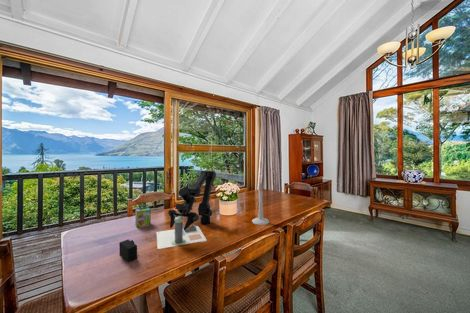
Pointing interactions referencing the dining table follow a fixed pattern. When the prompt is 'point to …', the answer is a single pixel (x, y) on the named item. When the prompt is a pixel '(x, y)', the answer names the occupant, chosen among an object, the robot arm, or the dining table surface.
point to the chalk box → (143, 216)
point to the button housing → (190, 228)
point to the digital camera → (128, 250)
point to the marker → (178, 230)
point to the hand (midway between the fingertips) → (177, 229)
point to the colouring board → (168, 238)
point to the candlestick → (260, 211)
